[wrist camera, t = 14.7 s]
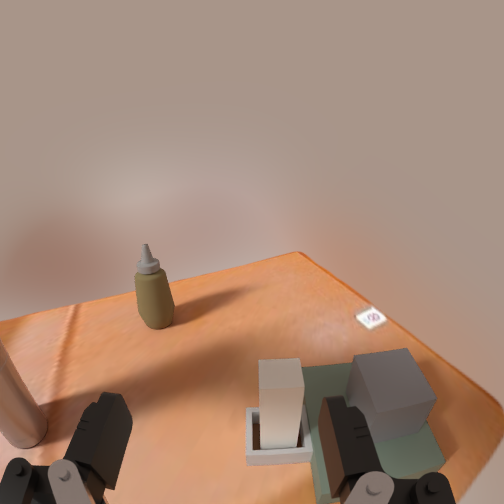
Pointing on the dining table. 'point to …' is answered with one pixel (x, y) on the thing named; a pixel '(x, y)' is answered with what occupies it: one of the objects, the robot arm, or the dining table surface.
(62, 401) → the dining table surface
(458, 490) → the dining table surface
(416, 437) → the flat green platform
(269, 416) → the tall white pillar block
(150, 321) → the squeeze bottle
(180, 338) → the dining table surface
